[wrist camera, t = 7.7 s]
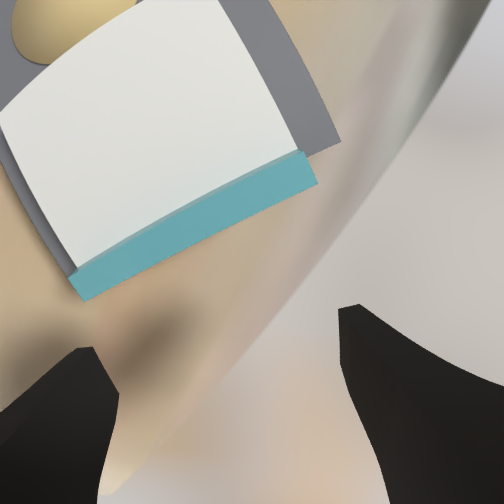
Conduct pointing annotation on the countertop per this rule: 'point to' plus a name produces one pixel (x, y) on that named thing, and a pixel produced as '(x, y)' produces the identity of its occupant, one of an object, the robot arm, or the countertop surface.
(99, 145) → the lid
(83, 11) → the housing
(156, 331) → the countertop surface
